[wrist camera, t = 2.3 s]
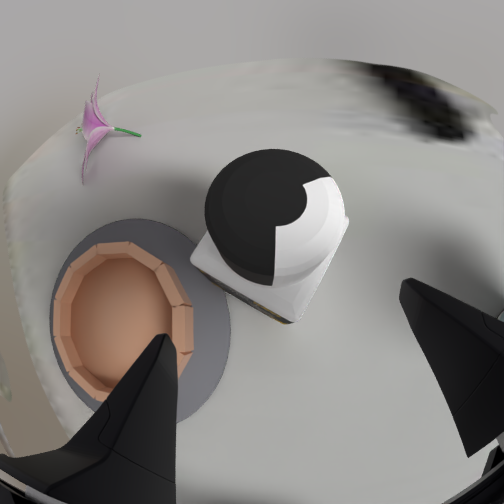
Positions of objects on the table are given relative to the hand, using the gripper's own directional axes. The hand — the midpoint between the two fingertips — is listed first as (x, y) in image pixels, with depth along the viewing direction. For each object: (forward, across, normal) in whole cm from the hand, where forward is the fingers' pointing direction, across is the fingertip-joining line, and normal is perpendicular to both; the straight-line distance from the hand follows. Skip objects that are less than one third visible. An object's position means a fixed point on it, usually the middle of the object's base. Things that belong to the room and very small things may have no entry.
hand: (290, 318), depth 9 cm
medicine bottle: (+12, 0, +6) cm, 13 cm away
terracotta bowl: (+10, +14, +7) cm, 18 cm away
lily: (+25, +15, -7) cm, 30 cm away
